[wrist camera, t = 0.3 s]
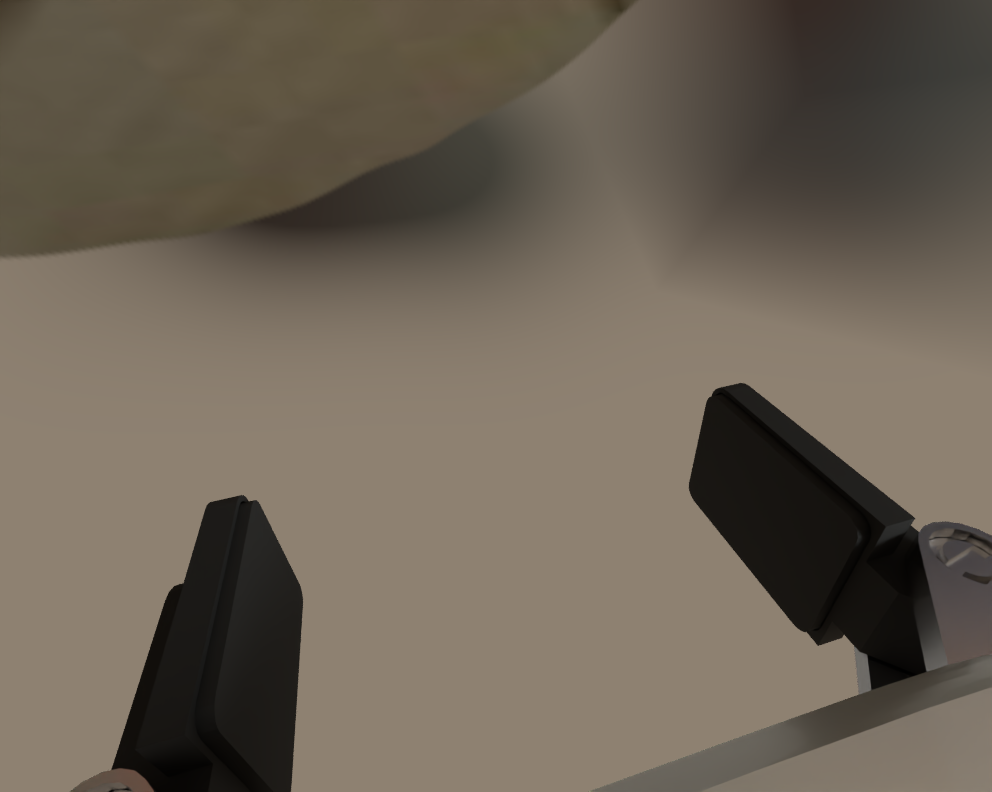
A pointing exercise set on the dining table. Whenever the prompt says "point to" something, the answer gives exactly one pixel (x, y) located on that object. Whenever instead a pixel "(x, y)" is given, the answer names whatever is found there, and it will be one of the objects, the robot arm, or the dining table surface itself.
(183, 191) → the dining table surface
